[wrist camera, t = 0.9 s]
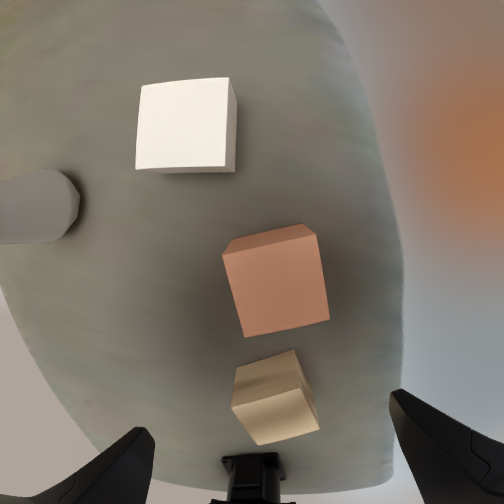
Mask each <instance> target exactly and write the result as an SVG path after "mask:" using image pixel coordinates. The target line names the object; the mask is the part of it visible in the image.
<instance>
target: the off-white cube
mask: <svg viewBox="0 0 504 504" xmlns="http://www.w3.org/2000/svg"><path fill="white" fill-rule="evenodd" d="M236 124H237V101H236V98H235V95H234V92H233V89H232V86H231V83H230V80H229V78H207V79H193V80H183V81H173V82H165V83H158V84H151V85H145V86H142V90H141V99H140V108H139V118H138V130H137V145H136V168H135V169H137V170H144V171H152V172H159V173H202V172H235V153H236Z"/></svg>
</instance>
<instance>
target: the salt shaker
mask: <svg viewBox="0 0 504 504" xmlns="http://www.w3.org/2000/svg"><path fill="white" fill-rule="evenodd" d="M79 202H80V194H79V193H78V191H77V190H76V188H75V186H74V185H73V183H72V182H71V180H70V179H69V178H67V177H66V176H65V175H64V174H62V173H61V172H60V171H57V170H50V169H43V170H39V171H36V172H32V173H29V174H25V175H22V176H18V177H15V178H12V179H9V180H6V181H3V182H0V244H20V243H49V242H51V241H54V240H56V239H59V238H60V237H62V236H63V234H64V233H65V232H66V230H67V229H68V228H69V227H70V226H71V224H72V223H73V222H74V221H75V220H76V219H77V218H78V210H79Z"/></svg>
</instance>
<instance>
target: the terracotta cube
mask: <svg viewBox="0 0 504 504" xmlns="http://www.w3.org/2000/svg"><path fill="white" fill-rule="evenodd" d="M222 257H223V261H224V265H225V268H226V272H227V276H228V279H229V283H230V287H231V290H232V294H233V298H234V301H235V305H236V309H237V312H238V316H239V319H240V323H241V326H242V330H243V333H244V337H251V336H256V335H261V334H267V333H272V332H277V331H282V330H287V329H291V328H296V327H300V326H305V325H309V324H314V323H318V322H322V321H326V320H330V316H329V309H328V302H327V295H326V289H325V283H324V276H323V270H322V265H321V259H320V253H319V248H318V243H317V237H316V234H315V233H314V232H313V231H311V230H310V229H309V228H308V227H307V226H305V225H304V224H303V223H302V224H298V225H293V226H289V227H284V228H280V229H275V230H271V231H266V232H262V233H257V234H253V235H248V236H244V237H240V238H235V239H232V240H231V242H230V244H229V245H228V247H227V248H226V250H225V251H224V253H223V254H222Z"/></svg>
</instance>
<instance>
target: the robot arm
mask: <svg viewBox="0 0 504 504" xmlns="http://www.w3.org/2000/svg"><path fill="white" fill-rule="evenodd" d="M389 412H390V415H391V418H392V421H393V424H394V428H395V431H396V434H397V438H398V441H399V444H400V447H401V449H402V452H403V454H404V456H405V458H406V460H407V463H408V465H409V467H410V469H411V472H412V474H413V476H414V479H415V481H416V483H417V486H418V488H419V491H420V493H421V495H422V498H423V500H424V503H425V504H504V444H503V443H501V442H498V441H496V440H493V439H491V438H488V437H487V436H485V435H483V434H481V433H479V432H477V431H475V430H471V428H469V427H468V426H466V425H464V424H462V423H460V422H459V421H457V420H455V419H453V418H451V417H450V416H448V415H446V414H444V413H443V412H441V411H439V410H438V409H436V408H434V407H432V406H431V405H429V404H427V403H425V402H424V401H422V400H420V399H419V398H417V397H415V396H414V395H412V394H410V393H409V392H407V391H405V390H404V389H398V390H395V391H392V392H391V393H390V401H389ZM154 450H155V441H154V439H153V437H152V436H151V435H150V433H149V432H148V430H147V429H146V428H145V427H134V428H133V429H132V430H130V431H129V432H128V433H127V434H125V435H124V436H123V437H122V438H120V439H119V440H118V441H116V442H115V443H114V444H113V445H111V446H110V447H109V448H107V449H106V450H105V451H104V452H102V453H101V454H100V455H98V456H97V457H96V458H94V459H93V460H92V461H90V462H89V463H88V464H86V465H85V466H84V467H82V468H81V469H79V470H78V471H77V472H75V473H74V474H72V475H71V476H69V477H68V478H66V479H65V480H63V481H62V482H60V483H58V484H57V485H55V486H53V487H51V488H49V489H48V490H46V491H44V492H42V493H40V494H38V495H35V496H33V497H17V496H9V495H2V494H0V504H145V503H146V498H147V494H148V489H149V485H150V481H151V476H152V468H153V459H154ZM221 462H222V464H223V466H224V467H225V469H226V470H227V472H228V473H229V475H230V478H229V485H228V493H227V501H220V500H216V499H212V500H211V503H210V504H296V502H290V503H280V481H283V480H286V474H285V471H284V469H283V466H282V463H281V460H280V457H279V455H278V454H277V453H270V454H262V455H251V456H238V457H223V458H222V459H221Z"/></svg>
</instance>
